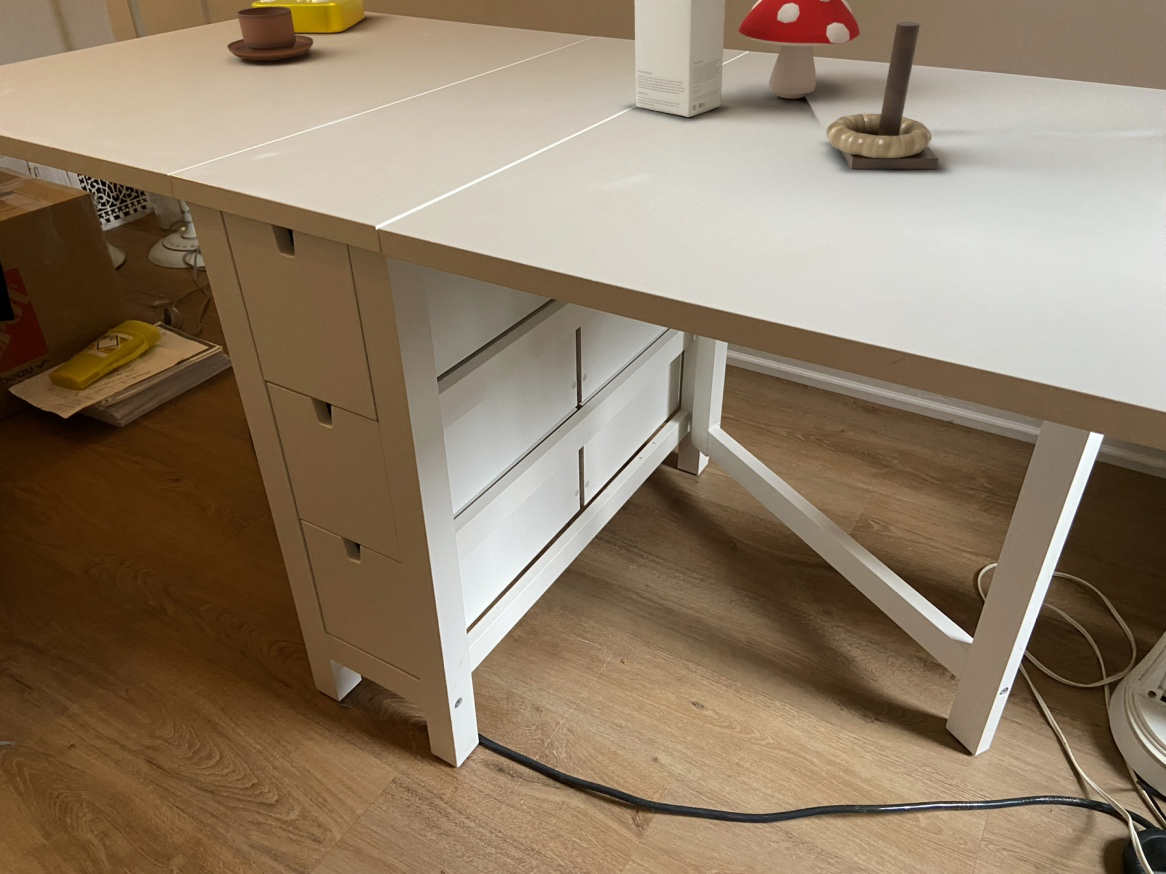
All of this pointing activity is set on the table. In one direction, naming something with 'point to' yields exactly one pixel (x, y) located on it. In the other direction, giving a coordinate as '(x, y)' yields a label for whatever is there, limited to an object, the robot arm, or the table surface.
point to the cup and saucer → (268, 35)
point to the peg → (897, 105)
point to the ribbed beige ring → (877, 137)
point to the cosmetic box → (679, 55)
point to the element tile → (320, 14)
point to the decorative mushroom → (798, 37)
